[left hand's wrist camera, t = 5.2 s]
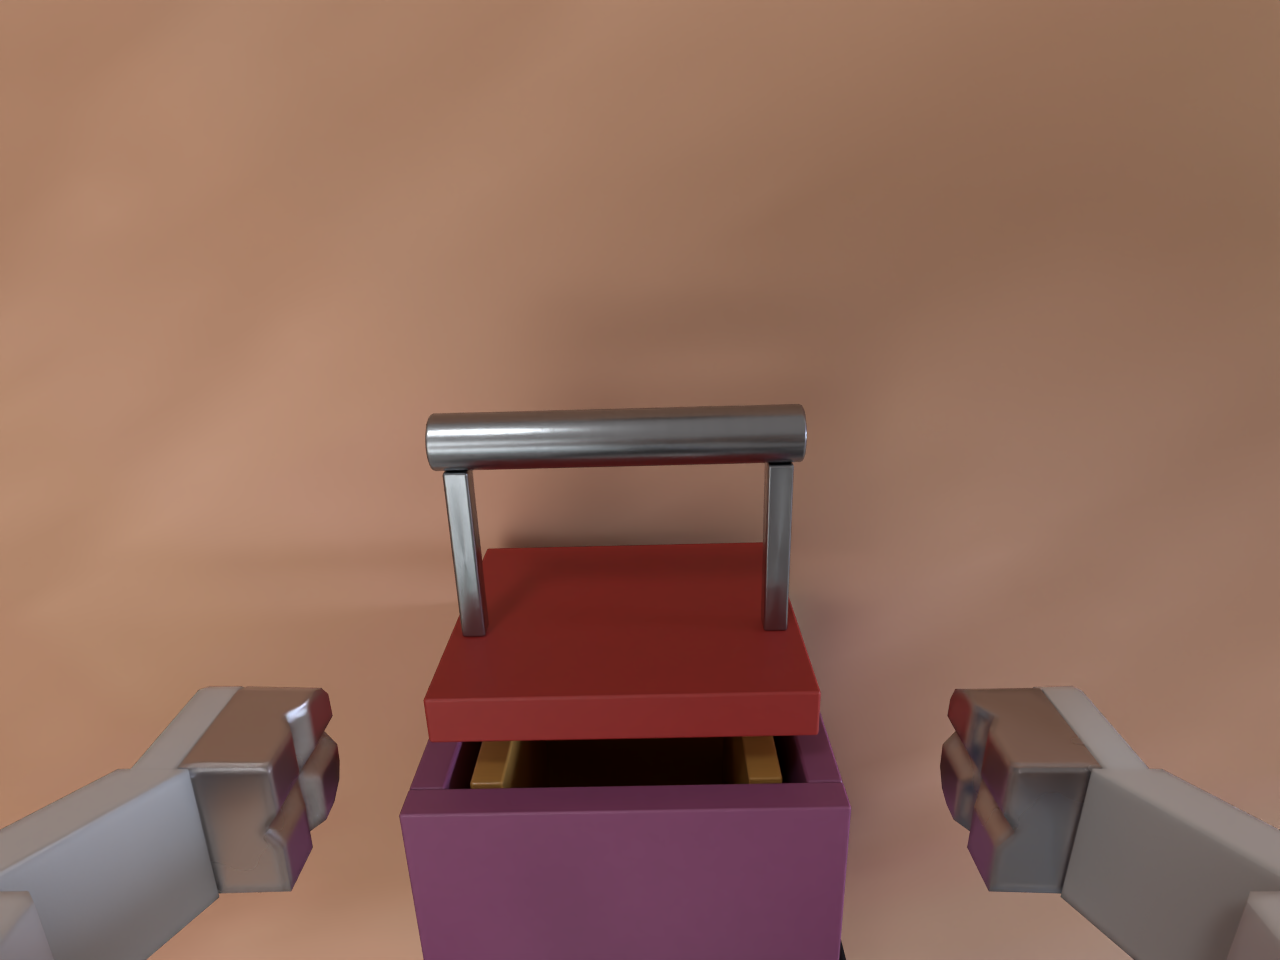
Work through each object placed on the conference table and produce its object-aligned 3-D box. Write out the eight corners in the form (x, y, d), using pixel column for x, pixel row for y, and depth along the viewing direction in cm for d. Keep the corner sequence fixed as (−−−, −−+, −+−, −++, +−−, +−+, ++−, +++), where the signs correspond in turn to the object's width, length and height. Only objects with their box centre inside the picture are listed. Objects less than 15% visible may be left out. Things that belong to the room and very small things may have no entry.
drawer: (467, 366, 23) (385, 455, 16) (776, 358, 23) (836, 444, 16) (517, 834, 30) (474, 1054, 22) (762, 830, 29) (800, 1050, 22)
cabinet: (480, 600, 27) (397, 815, 18) (783, 594, 27) (852, 807, 18) (512, 888, 32) (458, 1175, 23) (772, 884, 32) (823, 1171, 22)
